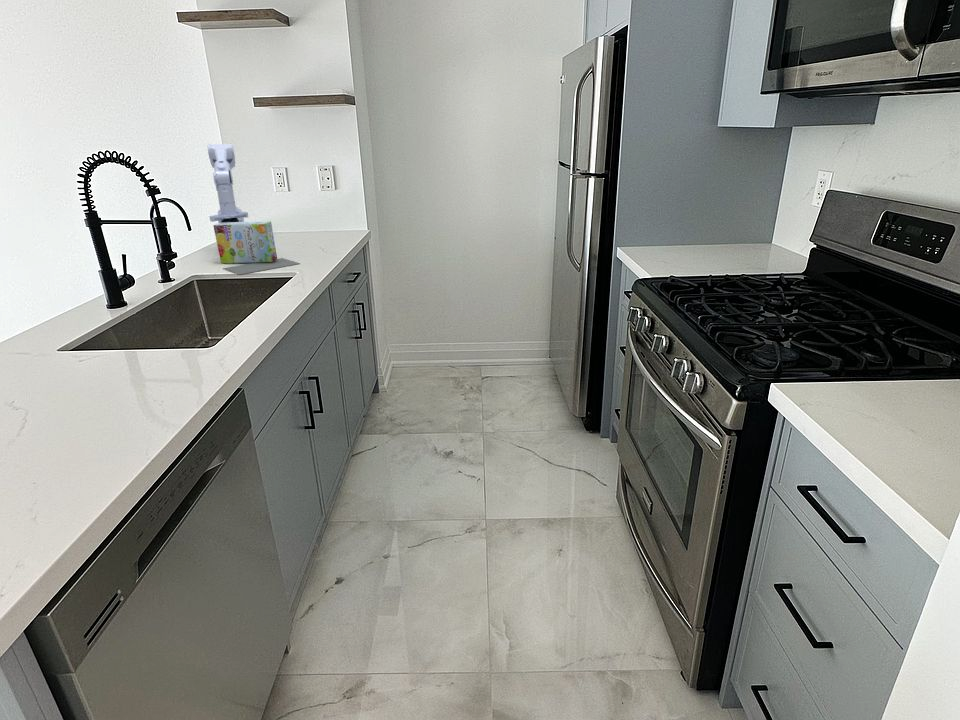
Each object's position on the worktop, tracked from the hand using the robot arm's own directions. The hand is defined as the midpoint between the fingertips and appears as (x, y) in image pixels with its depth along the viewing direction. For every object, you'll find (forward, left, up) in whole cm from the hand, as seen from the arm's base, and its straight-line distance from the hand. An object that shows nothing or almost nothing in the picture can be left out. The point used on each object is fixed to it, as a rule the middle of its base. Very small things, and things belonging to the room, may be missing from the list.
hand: (232, 237), depth 245 cm
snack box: (+10, +1, -8) cm, 13 cm away
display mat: (+20, +1, -8) cm, 22 cm away
